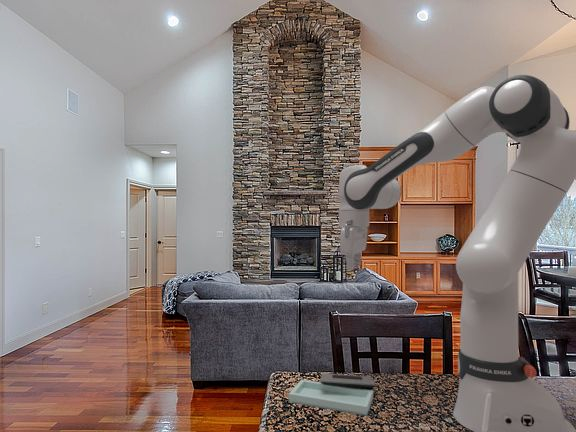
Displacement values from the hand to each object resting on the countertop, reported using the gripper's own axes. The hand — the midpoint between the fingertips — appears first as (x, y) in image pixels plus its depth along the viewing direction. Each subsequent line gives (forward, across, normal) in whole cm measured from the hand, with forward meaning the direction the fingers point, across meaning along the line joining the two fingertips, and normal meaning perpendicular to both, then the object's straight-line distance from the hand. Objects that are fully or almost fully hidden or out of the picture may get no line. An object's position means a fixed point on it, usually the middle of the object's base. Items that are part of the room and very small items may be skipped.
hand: (354, 268), depth 114 cm
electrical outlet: (+30, -10, 0) cm, 32 cm away
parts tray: (+29, -22, +1) cm, 37 cm away
